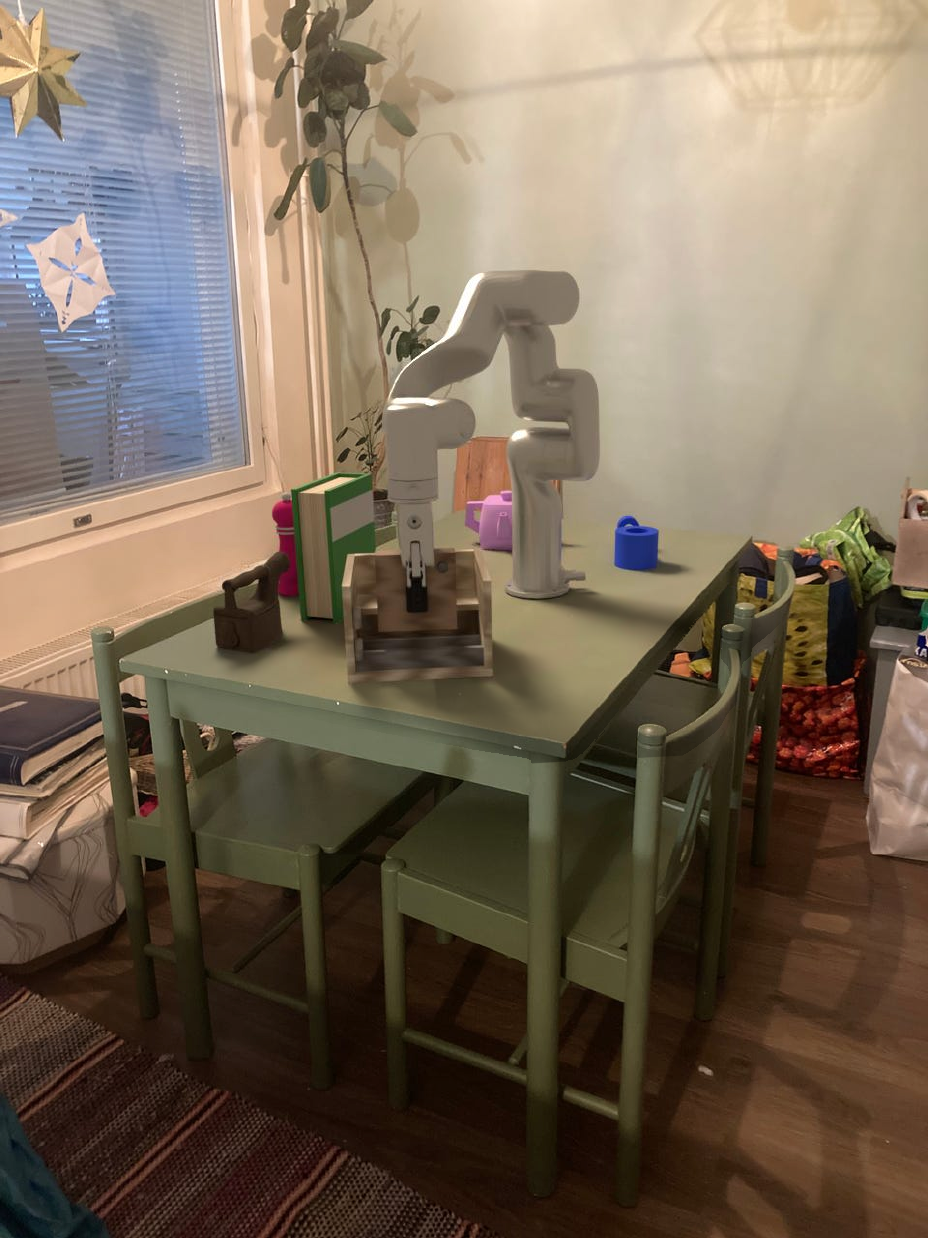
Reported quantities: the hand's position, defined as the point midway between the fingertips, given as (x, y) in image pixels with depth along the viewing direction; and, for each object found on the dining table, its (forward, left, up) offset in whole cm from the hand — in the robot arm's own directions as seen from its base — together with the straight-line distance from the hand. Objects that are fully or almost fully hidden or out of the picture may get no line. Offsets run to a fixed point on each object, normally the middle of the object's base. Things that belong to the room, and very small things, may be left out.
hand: (417, 607), depth 150 cm
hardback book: (+14, -34, -10) cm, 38 cm away
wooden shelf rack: (0, -5, -10) cm, 11 cm away
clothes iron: (+27, -18, -10) cm, 34 cm away
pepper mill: (+24, -46, -10) cm, 53 cm away
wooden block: (0, 0, -3) cm, 3 cm away
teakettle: (-23, -79, -10) cm, 83 cm away
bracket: (-48, -62, -11) cm, 79 cm away
